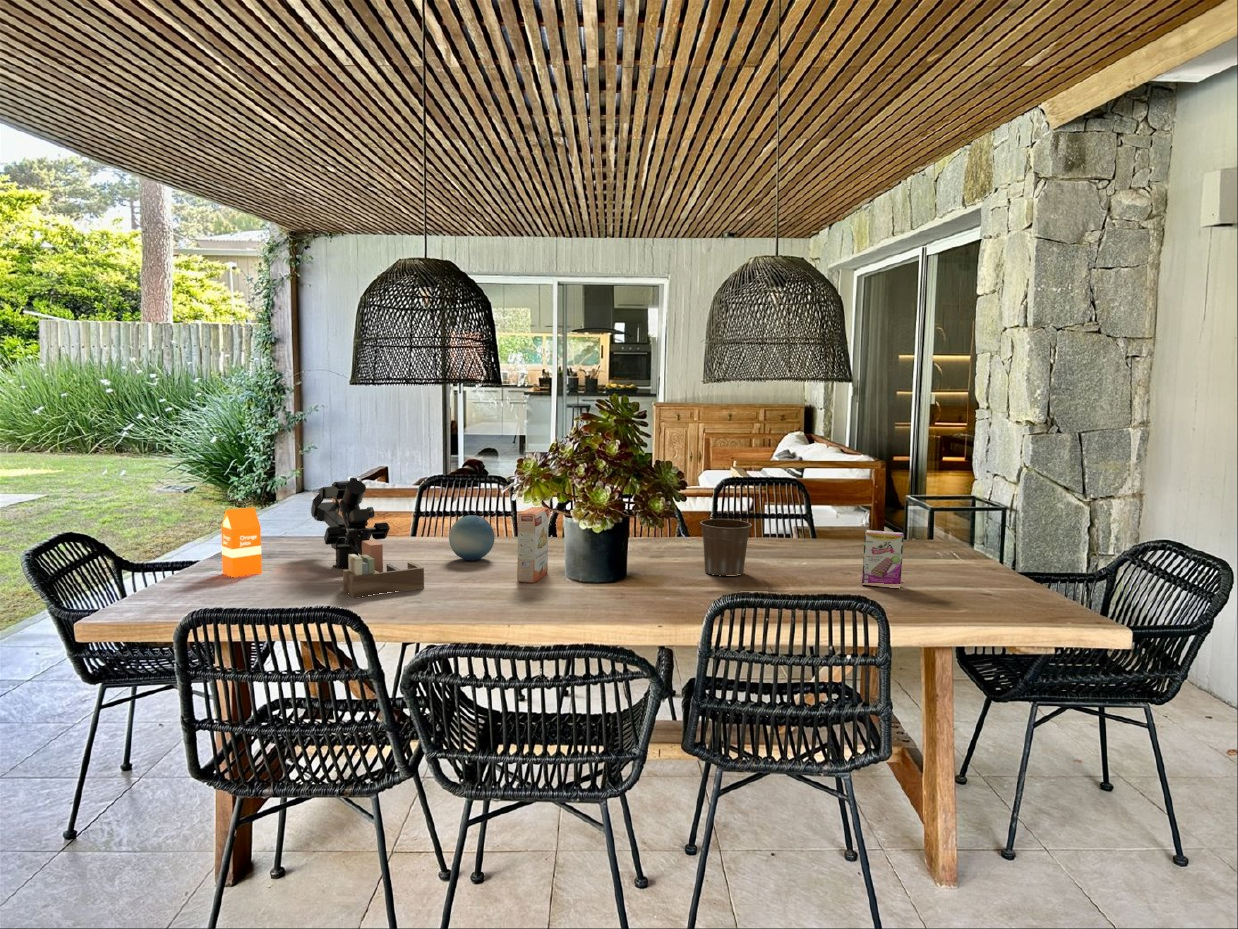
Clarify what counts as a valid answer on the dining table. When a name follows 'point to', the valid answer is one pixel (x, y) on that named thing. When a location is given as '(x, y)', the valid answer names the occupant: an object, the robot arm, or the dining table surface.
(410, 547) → the dining table surface
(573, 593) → the dining table surface
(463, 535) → the decorative ball
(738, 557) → the plant pot
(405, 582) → the book rack
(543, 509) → the cracker box
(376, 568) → the book
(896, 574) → the candy bar box
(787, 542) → the dining table surface
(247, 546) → the orange juice
